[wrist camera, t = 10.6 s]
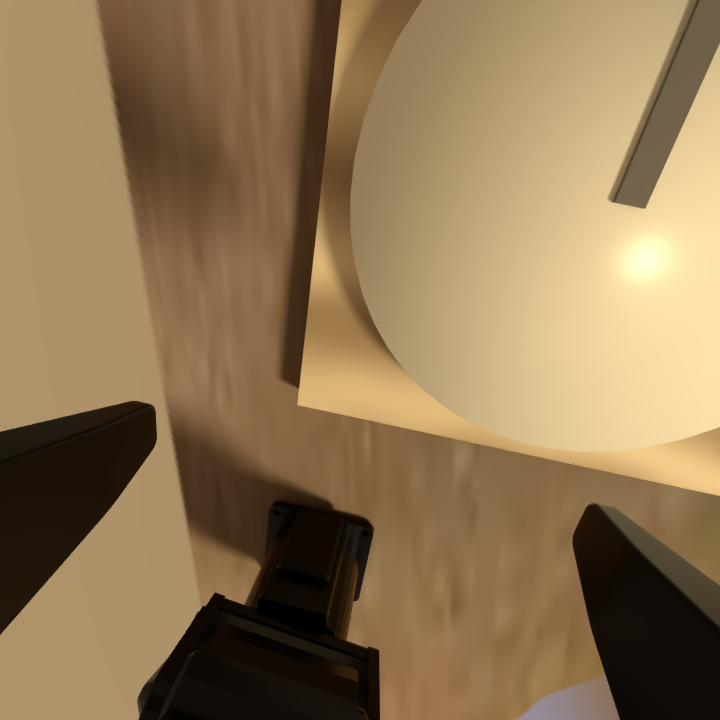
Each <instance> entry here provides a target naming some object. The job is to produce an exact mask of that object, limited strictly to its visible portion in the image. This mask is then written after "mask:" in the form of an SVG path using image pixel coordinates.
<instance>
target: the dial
mask: <svg viewBox="0 0 720 720" xmlns="http://www.w3.org/2000/svg"><path fill="white" fill-rule="evenodd" d="M350 232H351V240H352V247H353V255H354V263H355V267H356V271H357V275H358V279H359V283H360V287H361V291H362V294H363V297H364V300H365V302H366V305H367V307H368V310H369V312H370V315H371V317H372V320H373V322H374V324H375V326H376V328H377V329H378V331H379V333H380V335H381V337H382V338H383V340H384V342H385V344H386V345H387V347H388V349H389V350H390V352H391V353H392V354H393V356H394V357H395V358H396V360H397V361H398V362H399V364H400V365H401V366H402V368H403V369H404V370H405V372H406V373H407V374H408V375H409V376H410V377H411V378H412V379H413V380H414V381H415V382H416V383H417V384H418V385H419V386H420V387H421V388H422V389H423V390H424V391H425V392H426V393H428V394H429V395H430V396H431V397H433V398H434V399H435V400H436V401H438V402H439V403H440V404H442V405H443V406H444V407H445V408H447V409H448V410H450V411H451V412H453V413H455V414H456V415H458V416H460V417H461V418H463V419H465V420H466V421H468V422H470V423H472V424H474V425H476V426H478V427H481V428H483V429H485V430H487V431H490V432H492V433H494V434H496V435H499V436H502V437H506V438H509V439H512V440H515V441H518V442H522V443H525V444H530V445H536V446H541V447H546V448H551V449H560V450H572V451H618V450H626V449H634V448H643V447H650V446H655V445H659V444H664V443H668V442H672V441H677V440H681V439H685V438H688V437H691V436H694V435H697V434H700V433H704V432H707V431H710V430H713V429H716V428H719V427H720V0H422V1H421V3H420V4H419V6H418V7H417V9H416V10H415V12H414V14H413V15H412V17H411V18H410V20H409V21H408V23H407V25H406V26H405V28H404V29H403V31H402V33H401V34H400V36H399V37H398V39H397V41H396V43H395V45H394V47H393V49H392V51H391V53H390V55H389V57H388V60H387V62H386V64H385V66H384V68H383V70H382V72H381V74H380V76H379V78H378V80H377V83H376V86H375V89H374V92H373V94H372V97H371V100H370V103H369V106H368V108H367V111H366V114H365V117H364V120H363V124H362V128H361V133H360V137H359V141H358V145H357V150H356V154H355V158H354V167H353V176H352V185H351V193H350Z"/></svg>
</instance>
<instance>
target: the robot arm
mask: <svg viewBox="0 0 720 720" xmlns="http://www.w3.org/2000/svg"><path fill="white" fill-rule="evenodd" d="M156 440H157V430H156V411H155V408H154V406H152V405H151V404H147V403H143V402H138V401H130V402H126V403H122V404H118V405H113V406H108V407H104V408H100V409H96V410H92V411H87V412H83V413H79V414H75V415H70V416H66V417H62V418H58V419H53V420H49V421H44V422H41V423H36V424H32V425H27V426H23V427H19V428H15V429H10V430H6V431H2V432H0V634H1V633H2V632H3V631H4V630H5V629H6V628H7V626H8V625H9V624H10V623H11V622H12V621H13V620H14V618H15V617H16V616H17V615H18V614H19V613H20V612H21V610H22V609H23V608H24V607H25V606H26V605H27V604H28V602H29V601H30V600H31V599H32V598H33V597H34V596H35V594H36V593H37V592H38V591H39V590H40V589H41V588H42V586H43V585H44V584H45V583H46V582H47V581H48V579H49V578H50V577H51V576H52V575H53V574H54V573H55V571H56V570H57V569H58V568H59V567H60V566H61V565H62V564H63V562H64V561H65V560H66V559H67V558H68V557H69V555H70V554H71V553H72V552H73V551H74V550H75V549H76V547H77V546H78V545H79V544H80V543H81V541H83V539H84V538H85V537H86V536H87V535H88V534H89V533H90V531H91V530H92V529H93V528H94V527H95V526H96V525H97V523H98V522H99V521H100V520H101V519H102V518H103V516H104V515H105V514H106V513H107V512H108V510H109V509H110V508H111V507H112V505H113V504H114V503H115V501H116V500H117V499H118V497H119V496H120V495H121V493H122V492H123V490H124V489H125V488H126V486H127V484H128V483H129V482H130V481H131V479H132V478H133V476H134V475H135V473H136V472H137V471H138V470H139V468H140V467H141V465H142V464H143V462H144V461H145V460H146V458H147V457H148V456H149V454H150V453H151V451H152V450H153V448H154V446H155V444H156ZM276 509H278V510H280V511H278V510H276ZM363 530H366V531H368V532H365V531H363ZM373 532H374V528H373V526H372V525H371V524H370V523H368V522H364V521H359V520H355V519H351V518H347V517H342V516H338V515H334V514H330V513H325V512H321V511H317V510H313V509H309V508H304V507H300V506H296V505H292V504H287V503H283V502H274V503H273V504H272V506H271V508H270V510H269V521H268V532H267V543H266V555H265V560H264V562H263V564H262V567H261V569H260V571H259V573H258V576H257V578H256V580H255V582H254V584H253V587H252V589H251V591H250V593H249V596H248V598H247V600H246V602H245V604H244V605H243V604H240V603H237V602H234V601H232V600H229V599H226V598H225V596H224V595H221V594H218V593H214V595H213V596H212V598H211V599H210V601H209V602H208V604H207V605H206V606H203V607H202V608H201V610H200V611H199V612H197V614H196V616H195V618H194V619H193V621H192V623H191V625H190V627H189V628H188V629H187V631H186V633H185V634H184V635H183V637H182V638H181V640H180V641H179V643H178V644H177V646H176V647H175V649H174V650H173V652H172V653H171V655H170V656H169V657H168V658H167V659H166V661H165V662H164V663H163V664H162V665H161V666H160V668H159V669H158V670H157V671H156V672H155V674H153V676H152V677H151V678H150V679H149V680H148V681H147V683H146V684H145V685H144V687H143V688H142V690H141V692H140V695H139V697H138V700H137V703H138V710H139V715H140V718H139V720H380V685H379V650H378V649H375V648H372V647H369V646H368V648H366V647H363V646H360V645H357V644H354V643H351V642H349V641H346V640H347V635H348V629H349V623H350V617H351V612H352V606H353V601H357V600H358V598H359V595H360V590H361V586H362V582H363V577H364V573H365V568H366V564H367V559H368V555H369V551H370V546H371V542H372V537H373ZM573 550H574V554H575V559H576V563H577V568H578V573H579V577H580V582H581V587H582V591H583V596H584V600H585V605H586V610H587V614H588V618H589V622H590V626H591V630H592V633H593V637H594V640H595V643H596V646H597V649H598V653H599V656H600V659H601V662H602V665H603V668H604V671H605V674H606V677H607V681H608V683H609V687H610V690H611V693H612V696H613V699H614V702H615V705H616V709H617V712H618V715H619V718H620V720H720V586H719V585H718V584H717V583H715V582H714V581H713V580H711V579H710V578H709V577H707V576H706V575H705V574H703V573H702V572H701V571H699V570H698V569H697V568H695V567H694V566H693V565H691V564H690V563H689V562H687V561H686V560H685V559H683V558H682V557H681V556H679V555H678V554H677V553H675V552H674V551H673V550H671V549H670V548H669V547H667V546H666V545H665V544H663V543H662V542H661V541H659V540H658V539H657V538H655V537H654V536H653V535H651V534H650V533H649V532H647V531H646V530H645V529H643V528H642V527H641V526H639V525H638V524H637V523H635V522H634V521H633V520H631V519H630V518H629V517H627V516H626V515H625V514H623V513H622V512H621V511H619V510H618V509H617V508H615V507H612V506H608V505H604V504H599V503H590V504H589V505H588V506H587V507H586V509H585V511H584V513H583V515H582V517H581V519H580V521H579V523H578V525H577V527H576V529H575V531H574V534H573Z"/></svg>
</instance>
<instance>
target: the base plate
mask: <svg viewBox="0 0 720 720" xmlns="http://www.w3.org/2000/svg"><path fill="white" fill-rule="evenodd" d="M421 1H422V0H342V3H341V12H340V21H339V30H338V39H337V48H336V57H335V67H334V76H333V85H332V94H331V103H330V112H329V121H328V131H327V140H326V149H325V158H324V167H323V176H322V185H321V195H320V204H319V213H318V222H317V231H316V240H315V249H314V258H313V268H312V277H311V286H310V295H309V304H308V313H307V322H306V332H305V341H304V350H303V359H302V368H301V377H300V386H299V396H298V405H300V406H305V407H309V408H314V409H319V410H323V411H328V412H333V413H337V414H342V415H347V416H351V417H356V418H360V419H365V420H370V421H374V422H379V423H384V424H388V425H393V426H398V427H402V428H407V429H412V430H416V431H421V432H426V433H430V434H435V435H440V436H444V437H449V438H453V439H458V440H463V441H467V442H472V443H477V444H481V445H486V446H491V447H495V448H500V449H505V450H509V451H514V452H519V453H523V454H528V455H533V456H537V457H542V458H546V459H551V460H556V461H560V462H565V463H570V464H574V465H579V466H584V467H588V468H593V469H598V470H602V471H607V472H612V473H616V474H621V475H626V476H630V477H635V478H639V479H644V480H649V481H653V482H658V483H663V484H667V485H672V486H677V487H681V488H686V489H691V490H695V491H700V492H705V493H709V494H714V495H719V496H720V427H719V428H716V429H713V430H710V431H707V432H704V433H700V434H697V435H694V436H691V437H688V438H685V439H681V440H677V441H672V442H668V443H664V444H659V445H655V446H650V447H643V448H634V449H626V450H618V451H572V450H560V449H551V448H546V447H541V446H536V445H530V444H525V443H522V442H518V441H515V440H512V439H509V438H506V437H502V436H499V435H496V434H494V433H492V432H490V431H487V430H485V429H483V428H481V427H478V426H476V425H474V424H472V423H470V422H468V421H466V420H465V419H463V418H461V417H460V416H458V415H456V414H455V413H453V412H451V411H450V410H448V409H447V408H445V407H444V406H443V405H442V404H440V403H439V402H438V401H436V400H435V399H434V398H433V397H431V396H430V395H429V394H428V393H426V392H425V391H424V390H423V389H422V388H421V387H420V386H419V385H418V384H417V383H416V382H415V381H414V380H413V379H412V378H411V377H410V376H409V375H408V374H407V373H406V372H405V370H404V369H403V368H402V366H401V365H400V364H399V362H398V361H397V360H396V358H395V357H394V356H393V354H392V353H391V352H390V350H389V349H388V347H387V345H386V344H385V342H384V340H383V338H382V337H381V335H380V333H379V331H378V329H377V328H376V326H375V324H374V322H373V320H372V317H371V315H370V312H369V310H368V307H367V305H366V302H365V300H364V297H363V294H362V291H361V287H360V283H359V279H358V275H357V271H356V267H355V263H354V255H353V247H352V240H351V232H350V193H351V185H352V176H353V167H354V158H355V154H356V150H357V145H358V141H359V137H360V133H361V128H362V124H363V120H364V117H365V114H366V111H367V108H368V106H369V103H370V100H371V97H372V94H373V92H374V89H375V86H376V83H377V80H378V78H379V76H380V74H381V72H382V70H383V68H384V66H385V64H386V62H387V60H388V57H389V55H390V53H391V51H392V49H393V47H394V45H395V43H396V41H397V39H398V37H399V36H400V34H401V33H402V31H403V29H404V28H405V26H406V25H407V23H408V21H409V20H410V18H411V17H412V15H413V14H414V12H415V10H416V9H417V7H418V6H419V4H420V3H421Z"/></svg>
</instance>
